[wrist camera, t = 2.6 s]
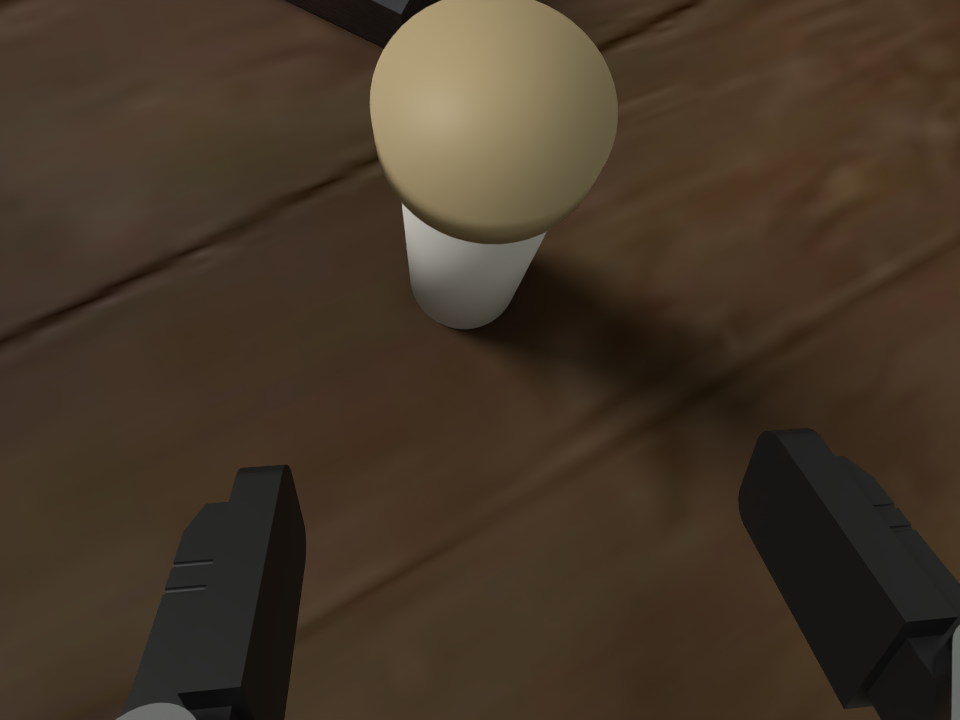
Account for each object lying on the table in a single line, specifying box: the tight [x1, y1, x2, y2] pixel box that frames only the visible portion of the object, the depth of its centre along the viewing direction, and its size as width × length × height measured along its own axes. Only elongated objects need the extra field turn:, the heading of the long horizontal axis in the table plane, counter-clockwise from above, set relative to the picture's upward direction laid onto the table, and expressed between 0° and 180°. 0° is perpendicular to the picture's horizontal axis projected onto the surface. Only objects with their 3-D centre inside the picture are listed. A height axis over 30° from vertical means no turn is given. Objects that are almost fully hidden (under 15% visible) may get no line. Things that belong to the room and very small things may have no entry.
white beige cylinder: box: [370, 0, 618, 329], centre depth 18 cm, size 5×5×12 cm
